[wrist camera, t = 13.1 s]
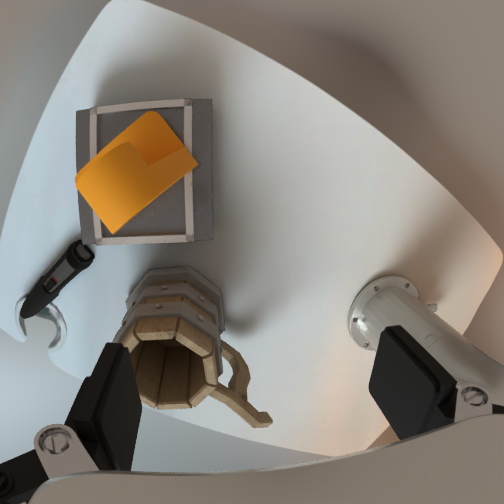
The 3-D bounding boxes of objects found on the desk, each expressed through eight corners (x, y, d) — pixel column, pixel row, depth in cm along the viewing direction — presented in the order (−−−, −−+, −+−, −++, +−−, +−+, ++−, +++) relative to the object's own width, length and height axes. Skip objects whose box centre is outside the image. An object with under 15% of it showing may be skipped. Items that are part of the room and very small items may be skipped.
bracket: (157, 110, 30) (129, 87, 18) (198, 164, 32) (192, 167, 21) (81, 176, 31) (24, 189, 19) (120, 228, 33) (80, 263, 21)
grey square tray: (212, 106, 36) (212, 97, 30) (212, 229, 40) (213, 241, 35) (91, 115, 34) (73, 110, 28) (96, 234, 38) (80, 246, 33)
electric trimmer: (21, 298, 40) (12, 307, 37) (80, 236, 38) (71, 242, 35) (37, 316, 41) (28, 326, 38) (98, 257, 39) (89, 265, 36)
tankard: (114, 315, 42) (80, 381, 27) (166, 247, 40) (144, 296, 26) (224, 387, 47) (232, 461, 33) (280, 333, 46) (308, 402, 31)
